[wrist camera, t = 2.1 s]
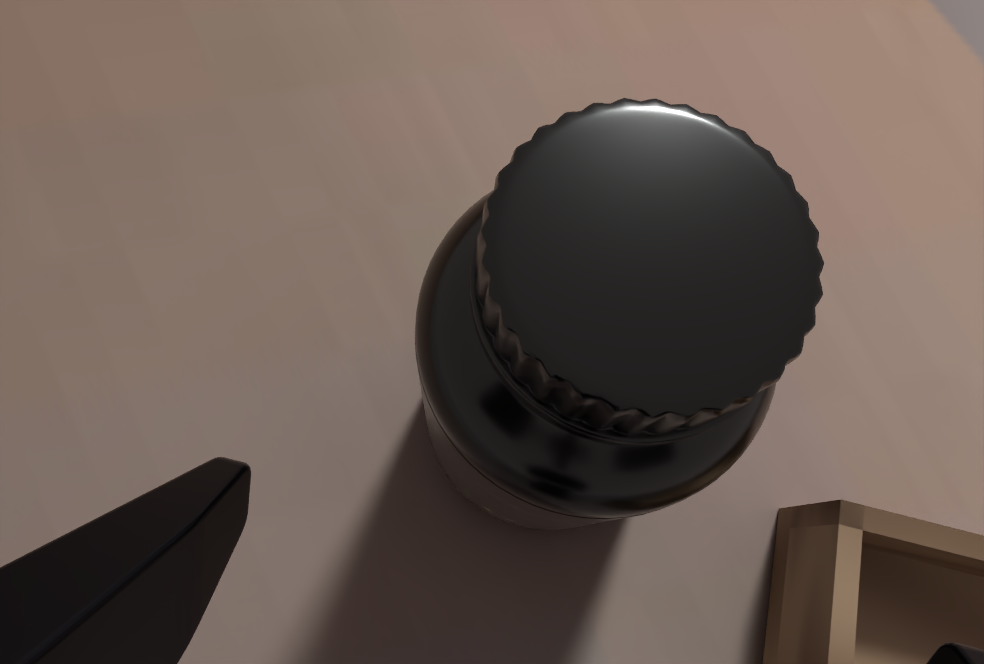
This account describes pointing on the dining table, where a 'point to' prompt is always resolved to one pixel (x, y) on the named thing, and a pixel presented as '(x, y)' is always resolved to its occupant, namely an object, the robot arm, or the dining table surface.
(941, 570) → the wooden desk organizer
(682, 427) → the supplement bottle
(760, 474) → the dining table surface
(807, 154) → the dining table surface
